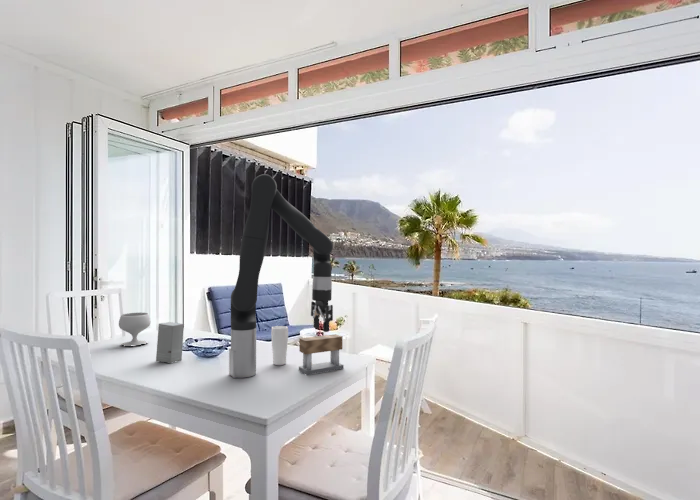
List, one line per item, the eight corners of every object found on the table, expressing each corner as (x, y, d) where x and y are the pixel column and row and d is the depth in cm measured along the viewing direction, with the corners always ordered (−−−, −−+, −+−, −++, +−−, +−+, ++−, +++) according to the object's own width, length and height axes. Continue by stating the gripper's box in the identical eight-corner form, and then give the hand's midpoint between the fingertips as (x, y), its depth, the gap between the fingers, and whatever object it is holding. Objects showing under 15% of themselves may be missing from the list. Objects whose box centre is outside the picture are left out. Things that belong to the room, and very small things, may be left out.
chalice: (130, 341, 210) (130, 312, 210) (156, 341, 208) (156, 312, 209) (111, 347, 196) (112, 316, 196) (139, 348, 195) (139, 316, 195)
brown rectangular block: (305, 354, 153) (305, 341, 153) (299, 351, 158) (299, 338, 158) (342, 349, 161) (342, 336, 161) (335, 346, 166) (335, 334, 166)
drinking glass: (284, 366, 163) (284, 329, 163) (268, 365, 165) (268, 328, 165) (290, 362, 170) (290, 326, 170) (275, 361, 171) (275, 325, 171)
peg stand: (306, 374, 152) (306, 354, 152) (298, 370, 158) (298, 350, 158) (343, 368, 160) (343, 349, 160) (334, 364, 166) (335, 346, 166)
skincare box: (155, 361, 170) (155, 323, 170) (169, 357, 177) (169, 321, 177) (171, 363, 167) (171, 325, 167) (184, 359, 174) (184, 322, 174)
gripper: (305, 287, 164) (304, 327, 163) (321, 289, 151) (320, 333, 151) (322, 286, 167) (321, 326, 167) (339, 289, 155) (338, 332, 155)
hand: (321, 329), depth 159 cm, fingers open, 8 cm apart
